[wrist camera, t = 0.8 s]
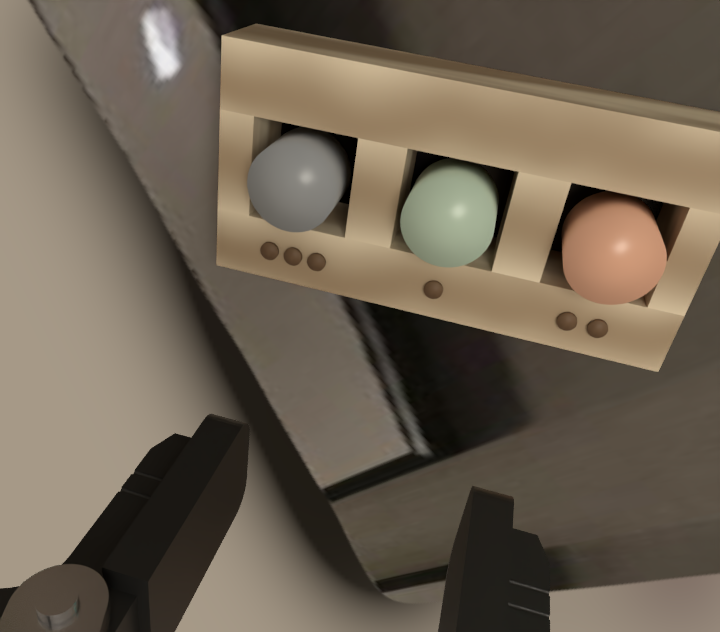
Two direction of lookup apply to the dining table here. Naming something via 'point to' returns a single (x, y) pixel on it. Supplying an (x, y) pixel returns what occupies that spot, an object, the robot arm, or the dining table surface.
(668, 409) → the dining table surface
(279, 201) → the slate button
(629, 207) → the terracotta button
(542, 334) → the button panel
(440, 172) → the sage button
